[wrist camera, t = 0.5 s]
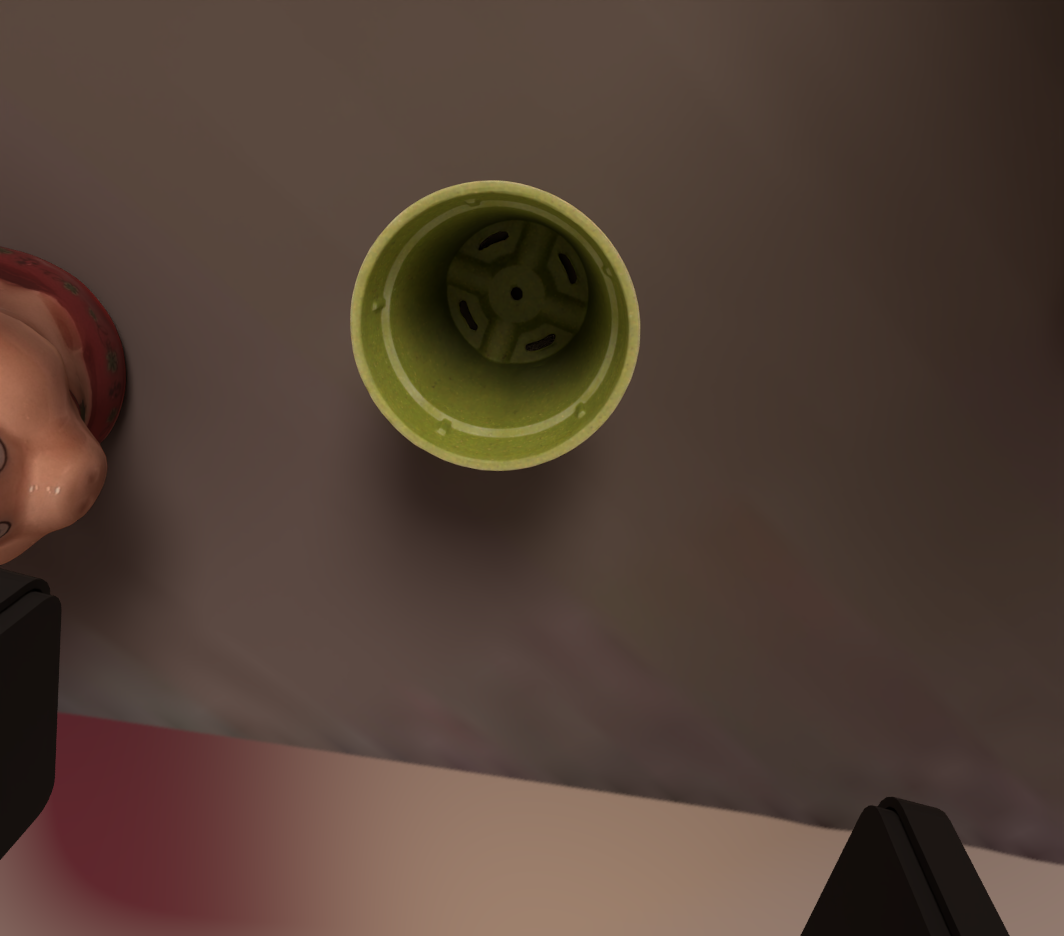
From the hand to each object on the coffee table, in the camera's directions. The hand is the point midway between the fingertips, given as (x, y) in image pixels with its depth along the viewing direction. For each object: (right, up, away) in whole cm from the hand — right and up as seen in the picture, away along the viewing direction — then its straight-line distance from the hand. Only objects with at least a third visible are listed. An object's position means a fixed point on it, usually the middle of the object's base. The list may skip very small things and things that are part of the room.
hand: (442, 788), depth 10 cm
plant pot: (0, +11, +26) cm, 28 cm away
